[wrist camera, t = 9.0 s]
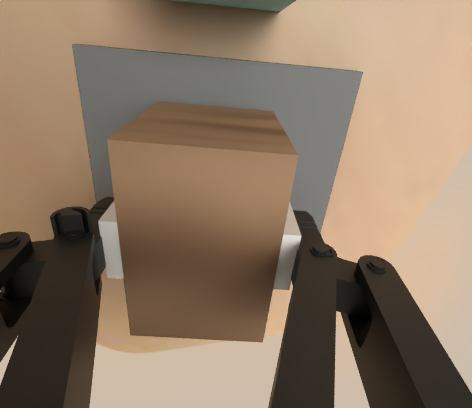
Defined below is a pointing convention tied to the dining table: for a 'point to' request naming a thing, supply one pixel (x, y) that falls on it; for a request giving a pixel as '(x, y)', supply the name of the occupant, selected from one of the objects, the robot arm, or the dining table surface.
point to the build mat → (222, 95)
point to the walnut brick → (201, 218)
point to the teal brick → (247, 3)
